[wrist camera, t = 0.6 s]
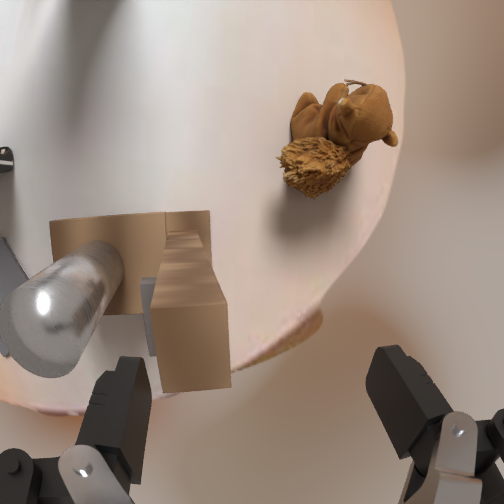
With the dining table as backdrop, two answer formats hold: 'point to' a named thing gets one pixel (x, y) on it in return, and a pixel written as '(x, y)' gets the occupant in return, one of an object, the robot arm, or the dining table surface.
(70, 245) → the walnut standard
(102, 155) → the dining table surface
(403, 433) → the robot arm
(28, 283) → the steel cylinder
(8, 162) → the battery charger
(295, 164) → the stuffed squirrel
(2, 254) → the felt pad
